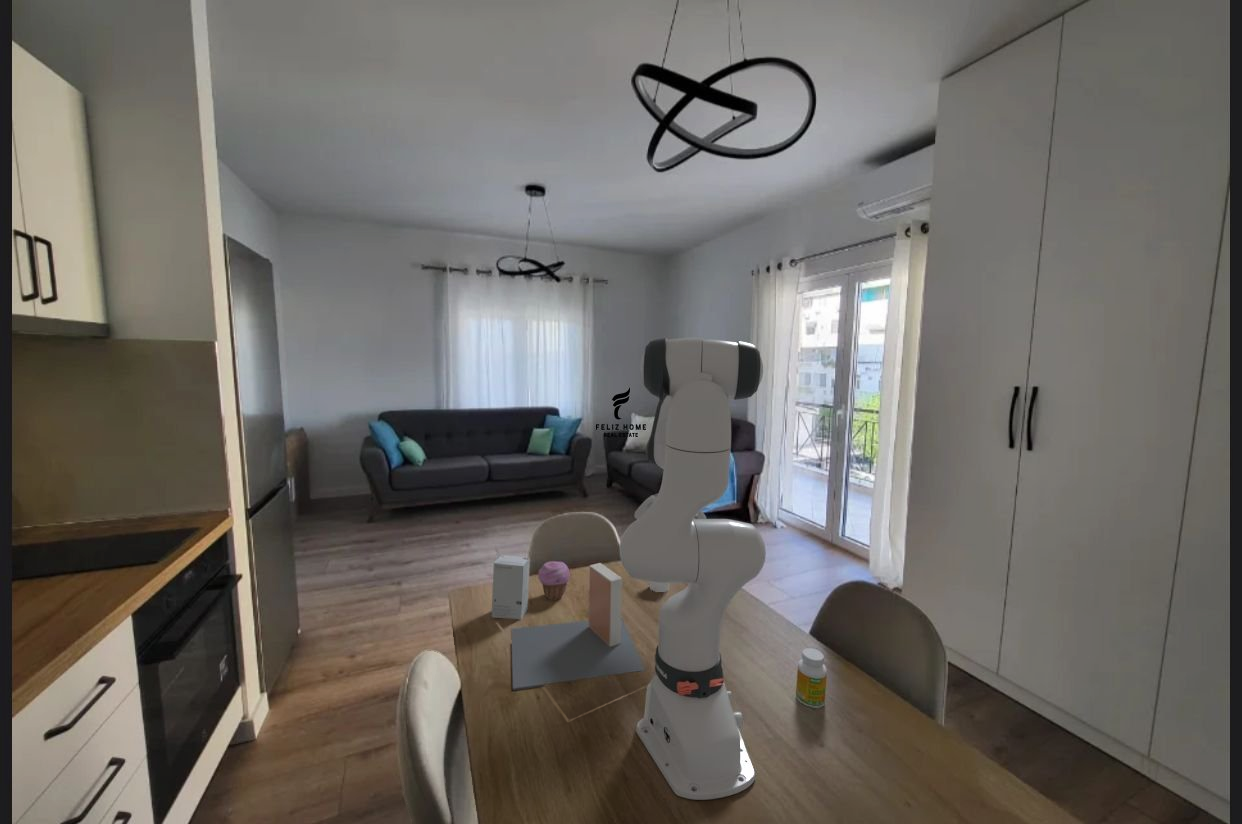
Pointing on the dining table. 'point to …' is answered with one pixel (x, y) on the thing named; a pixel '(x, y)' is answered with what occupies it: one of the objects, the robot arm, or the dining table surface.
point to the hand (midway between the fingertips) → (647, 545)
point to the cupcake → (554, 579)
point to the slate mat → (568, 654)
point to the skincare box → (510, 587)
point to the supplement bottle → (811, 678)
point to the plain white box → (605, 603)
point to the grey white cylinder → (659, 587)
